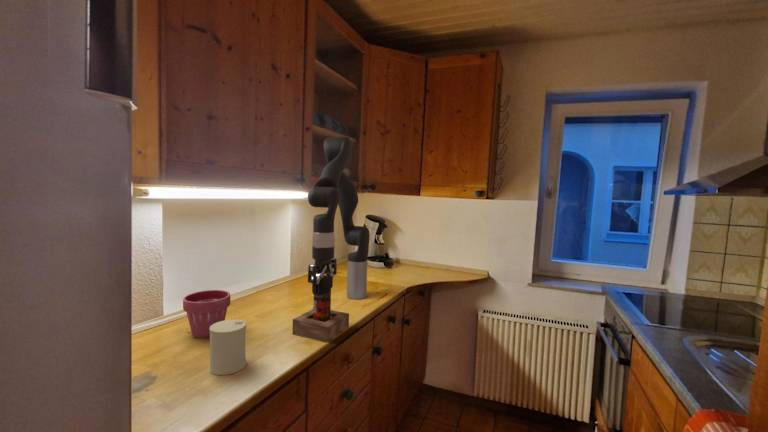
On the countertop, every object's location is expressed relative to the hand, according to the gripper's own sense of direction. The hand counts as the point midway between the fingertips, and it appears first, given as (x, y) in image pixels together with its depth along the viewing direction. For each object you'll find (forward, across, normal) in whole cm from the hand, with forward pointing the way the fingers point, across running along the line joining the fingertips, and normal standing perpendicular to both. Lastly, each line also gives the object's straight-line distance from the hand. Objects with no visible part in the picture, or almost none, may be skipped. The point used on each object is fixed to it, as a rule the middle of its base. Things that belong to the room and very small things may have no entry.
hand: (322, 290), depth 118 cm
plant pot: (+14, +19, -33) cm, 41 cm away
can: (+14, +32, -9) cm, 36 cm away
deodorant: (+10, 0, 0) cm, 10 cm away
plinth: (+14, 0, 0) cm, 14 cm away
